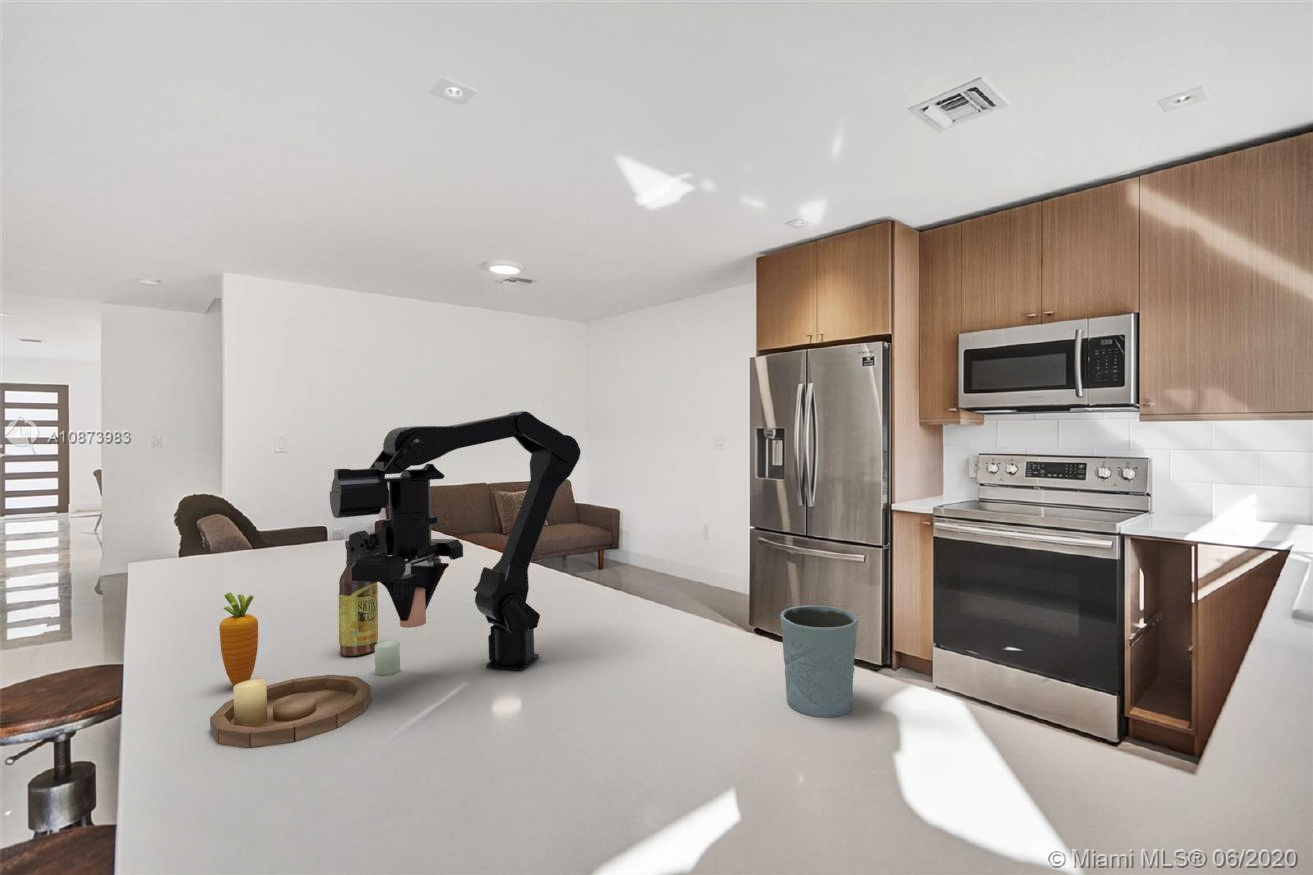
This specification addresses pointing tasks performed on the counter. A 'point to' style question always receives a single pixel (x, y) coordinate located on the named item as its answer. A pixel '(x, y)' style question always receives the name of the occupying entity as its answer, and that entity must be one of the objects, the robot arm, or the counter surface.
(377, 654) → the bead sage
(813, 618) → the teal embossed cup
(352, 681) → the groove tray
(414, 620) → the bead coral
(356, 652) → the sauce bottle
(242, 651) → the carrot
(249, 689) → the bead mustard
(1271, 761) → the counter surface
